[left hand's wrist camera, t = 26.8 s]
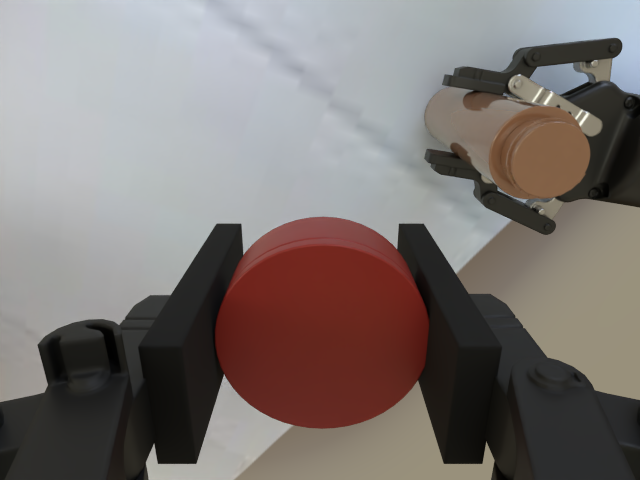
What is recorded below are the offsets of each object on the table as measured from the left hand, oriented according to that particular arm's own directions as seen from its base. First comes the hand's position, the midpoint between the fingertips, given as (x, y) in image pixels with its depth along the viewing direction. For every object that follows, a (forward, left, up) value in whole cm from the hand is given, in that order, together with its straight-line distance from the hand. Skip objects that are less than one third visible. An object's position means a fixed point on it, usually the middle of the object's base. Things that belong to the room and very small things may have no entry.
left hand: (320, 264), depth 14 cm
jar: (+10, -4, -26) cm, 28 cm away
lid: (0, 0, +4) cm, 4 cm away
